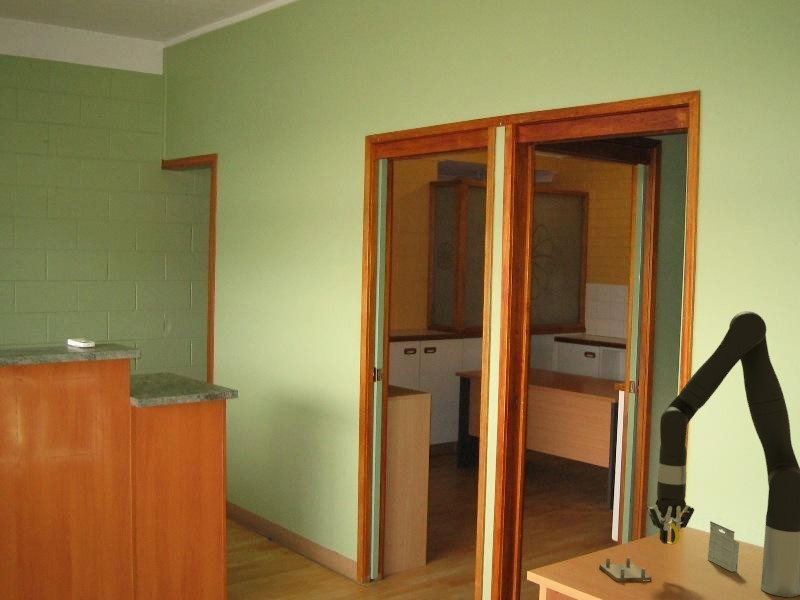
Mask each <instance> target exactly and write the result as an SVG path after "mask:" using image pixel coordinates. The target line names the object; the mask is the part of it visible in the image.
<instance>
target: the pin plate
mask: <svg viewBox="0 0 800 600" xmlns="http://www.w3.org/2000/svg"><path fill="white" fill-rule="evenodd" d="M605 561H606V562H605V564H604V563H602V564H599V567H598V568H599V569H600V570H601V571H602V572H604V573H605V574H606V575H608V576H609V577H610V578H612V579H613V580H614V581H615V582H616V583H619V582H644V581H643V580H651V581H652V580H653V579H652V577H651V576H650V575H649V574H648V573H646V568H645V567H644V568H641V569H640V568H639V567H638V566H636V565H635V564H634V563H631V557H626V560H625V563H619V564H618V563H617V564H616V563H615V564H614V563H613V564H611V558H610V557H606V560H605Z"/></svg>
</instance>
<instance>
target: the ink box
mask: <svg viewBox="0 0 800 600" xmlns="http://www.w3.org/2000/svg"><path fill="white" fill-rule="evenodd" d="M709 526H710V527H709V540H708V541H709V542H708V549H707V550H708V553H707V561H710V562H711V563H713V564H715V565H718V566H719V567H722V568H723V569H725V570H727V571H729V572H732V573H737V572H738V567H739V566H738V564H739V563H738V562H739V552H740V542H739V541H738V540H735V531H734V530H732V529H729V528H727V527H724V526H722V525H720V524H718V523H715V522H713V521H712V520H711V521H709ZM721 530H722V531H721Z"/></svg>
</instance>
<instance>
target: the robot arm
mask: <svg viewBox="0 0 800 600" xmlns="http://www.w3.org/2000/svg"><path fill="white" fill-rule="evenodd" d="M768 348H769V347H768V342H767V325H766V322H765V320H764V319H763V318H762V317H761V316H760V315H759V314H758V313H755V311H754V312H753V311H748V310H747V311H741V312H739V313H736V314H735V315H734V316H733V317H732V318H731V320H730V323H729V326H728V330H727V332H726V333H725V335H724V337H723V339H722V341H721V342H720V344H719V345H718V346H717V348H716V349H715V350H714V352H713V353H712V354H711V355H710V357H709V358H707V360H706V361H705V362H704V363H702V365H701V366H700V367H698V369H697V371H695V373H694V374H693V375H692V376H691V377H690V379H689V380H688V381H687V383H685V385H684V386H683V387H682V389H681V391H680V393H679V394H677V396H676V397H675V398H674V400H673V401H671V403H670V404H669V405H668V406H667V407H666V408H665V410H663V413H662V415H661V417H660V421H659V423H660V424H659V431H660V432H659V433H660V434H659V435H660V446H659V461H658V469H657V483H656V484H657V485H656V497H657V498H656V501H655V504H653V506H647V507H646V511H647V513H648V515H649V517H650V520H651V522H652V524H653V526H654V527H655V528H658V529H659V532H660V534H659V540H660V541H661V543H662V544H664V545H665V544H666V545H668V544H667V541H668V538H669V537H668V535H669V534H668V533H669V530H668V529H669V528H668V527H669V526H668V523H669V522H670V521H672V522H675V526H676V527H677V528H678V531H679V532H680V530H681V529H682V528H684V529H685V528H686V527H687V526H688V524H689V522H690V521H691V518H692V516H693V514H694V512H695V508H694V507H692V506H690V505H689V504H688V505H687V502H686V499H685V498H686V493H687V492H686V491H687V465H686V464H687V448H686V443H687V442H686V441H687V440H686V439H687V430H688V424H689V423H690V422H691V420H692V419H693V417H694V416H695V414H696V413H697V412H698V411H699V410H700V409H701V408H702V407H704V406H705V404H707V402H708V401H709V399H711V397H712V396H713V395H714V394H715V392H716V391H717V389H718V388H719V387H720V385H721V384H722V383H723V381H724V380H725V378H726V377H727V375H728V374H729V373H730V372H731V370H732V369H733V368H734V367H735V366H736V364H737V363H738V362H740V363H741V368H742V374H743V385H744V391H745V397H746V401H747V406H748V409H749V414H750V417H751V421H752V424H753V426H754V430H755V432H756V434H757V437H758V439H759V441H760V444H761V447H762V451H763V454H764V459H765V465H766V472H767V485H768V495H767V508H766V509H767V510H766V513H765V514H766V515H765V524H764V525H765V526H764V543H763V555H762V566H761V567H762V569H761V583H760V589H761V590H762V591H763V592H765V593H767V594H770V595H772V596H777V597H782V598H783V597H784V598H794V597H797V596H800V465H799V462H798V460H797V457H796V454H795V451H794V448H793V444H792V436H791V435H792V434H791V425H790V418H789V413H788V407H787V403H786V399H785V397H784V396H785V395H784V393H783V390H782V387H781V383H780V380H779V379H778V376H777V374H776V371H775V369H774V367H773V364H772V362H771V361H772V360H771V357H770V354H769V349H768ZM658 511H659V516H658ZM670 530H671V531H670V532H671V533H670V542H672V543H673V542H674V540H675V532H674V529H673V528H672V527H671V529H670Z"/></svg>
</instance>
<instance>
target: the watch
mask: <svg viewBox="0 0 800 600" xmlns="http://www.w3.org/2000/svg"><path fill="white" fill-rule="evenodd" d="M668 527H671V528H673V529H674V532H675V540H674V542H673V543H672V542H671V541H668V540H667V544H666V545H671V546H674V545H676V544H677V543H679V540H680V530H679V531H678V528H677V527H676V526H675V522H672V520H670V522H669V523H668ZM658 533H659V535H660V531H659V532H658Z"/></svg>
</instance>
